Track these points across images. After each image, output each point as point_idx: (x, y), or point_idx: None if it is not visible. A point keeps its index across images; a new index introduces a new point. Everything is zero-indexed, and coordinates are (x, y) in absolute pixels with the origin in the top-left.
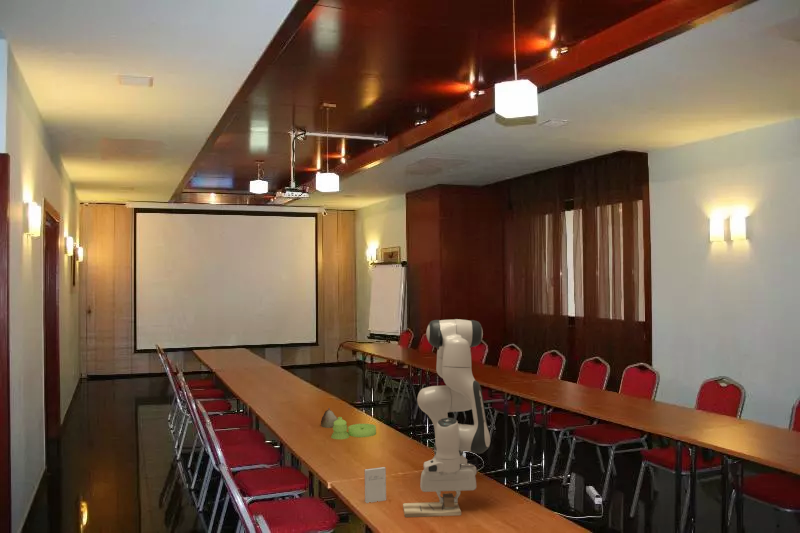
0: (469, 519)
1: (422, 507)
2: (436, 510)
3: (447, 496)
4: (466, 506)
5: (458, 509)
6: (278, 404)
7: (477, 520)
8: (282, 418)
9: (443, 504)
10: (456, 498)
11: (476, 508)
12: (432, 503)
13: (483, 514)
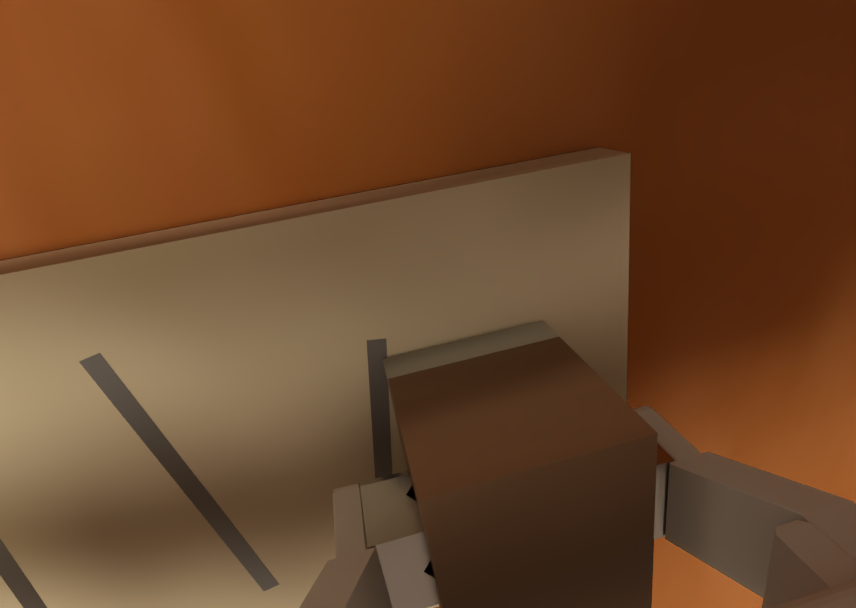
0: (662, 588)
1: (28, 531)
2: (303, 584)
3: None
4: (723, 209)
5: None
6: None
7: (726, 589)
8: None
9: (399, 434)
10: (674, 530)
11: (824, 275)
12: (166, 312)
13: (828, 446)
